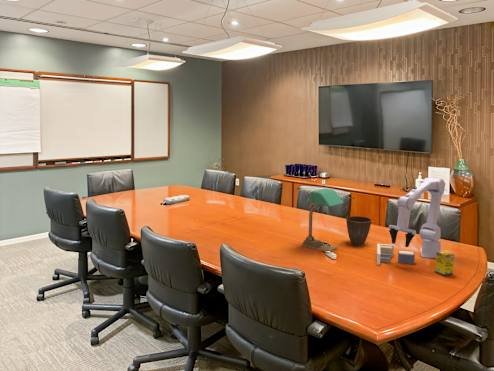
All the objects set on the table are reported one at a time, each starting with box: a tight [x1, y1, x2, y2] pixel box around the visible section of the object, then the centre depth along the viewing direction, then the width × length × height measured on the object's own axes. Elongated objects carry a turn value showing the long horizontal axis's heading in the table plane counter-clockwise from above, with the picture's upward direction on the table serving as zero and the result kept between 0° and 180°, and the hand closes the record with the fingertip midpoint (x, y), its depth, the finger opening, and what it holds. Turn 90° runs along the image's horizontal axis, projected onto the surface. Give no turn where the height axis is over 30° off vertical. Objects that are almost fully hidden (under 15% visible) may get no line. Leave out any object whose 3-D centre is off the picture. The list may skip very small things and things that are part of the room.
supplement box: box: [434, 249, 455, 277], centre depth 213 cm, size 6×6×11 cm
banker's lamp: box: [301, 188, 344, 253], centre depth 252 cm, size 16×21×35 cm
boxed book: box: [397, 250, 416, 265], centre depth 230 cm, size 8×4×6 cm, turn 74°
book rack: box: [376, 243, 395, 266], centre depth 233 cm, size 9×19×6 cm, turn 164°
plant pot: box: [345, 215, 373, 247], centre depth 261 cm, size 15×15×16 cm
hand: (400, 245), depth 224 cm, fingers open, 7 cm apart
